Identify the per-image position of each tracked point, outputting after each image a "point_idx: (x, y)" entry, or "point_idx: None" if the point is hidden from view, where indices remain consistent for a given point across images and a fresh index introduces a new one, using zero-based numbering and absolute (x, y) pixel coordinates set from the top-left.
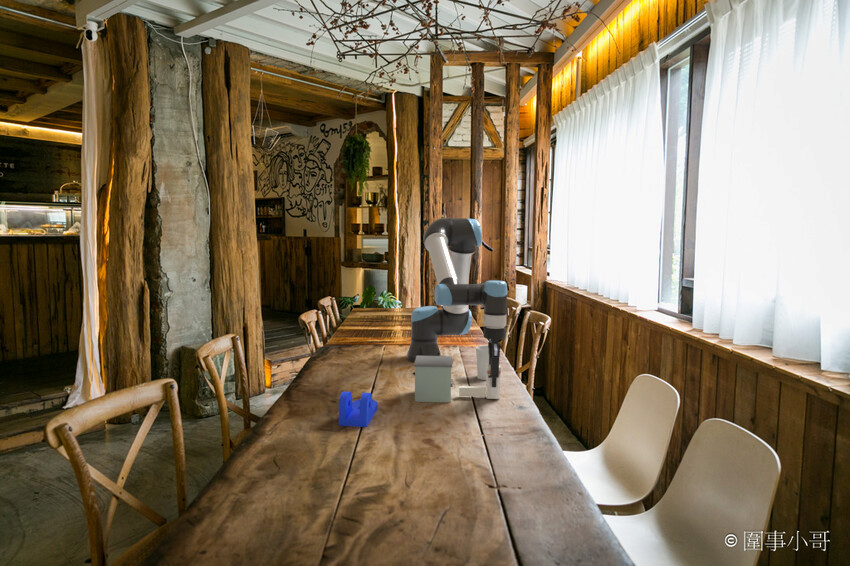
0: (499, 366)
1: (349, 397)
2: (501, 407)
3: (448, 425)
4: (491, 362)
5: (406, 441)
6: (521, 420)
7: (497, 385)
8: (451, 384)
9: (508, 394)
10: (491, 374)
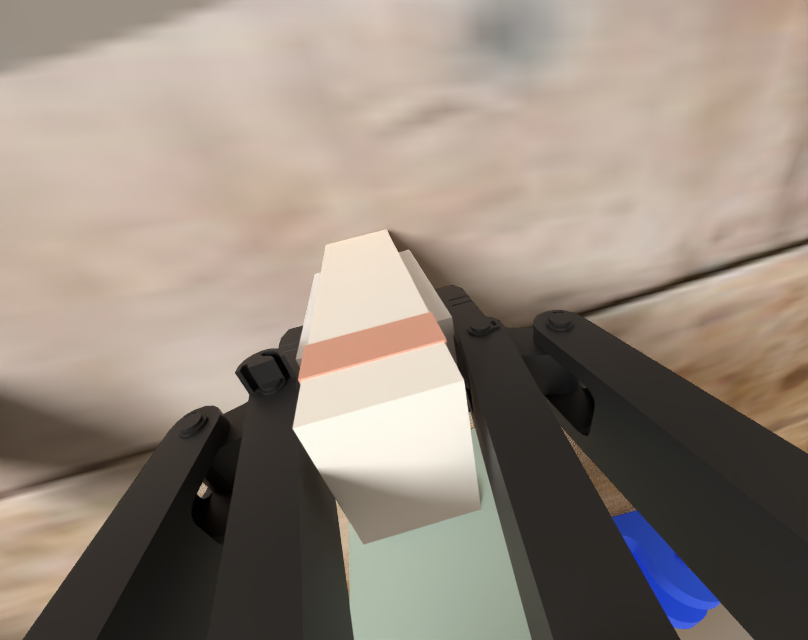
0: (402, 409)
1: (678, 602)
2: (521, 195)
3: (707, 364)
4: (707, 577)
5: (777, 415)
6: (751, 19)
7: (427, 282)
8: (480, 501)
9: (225, 176)
10: (585, 397)
